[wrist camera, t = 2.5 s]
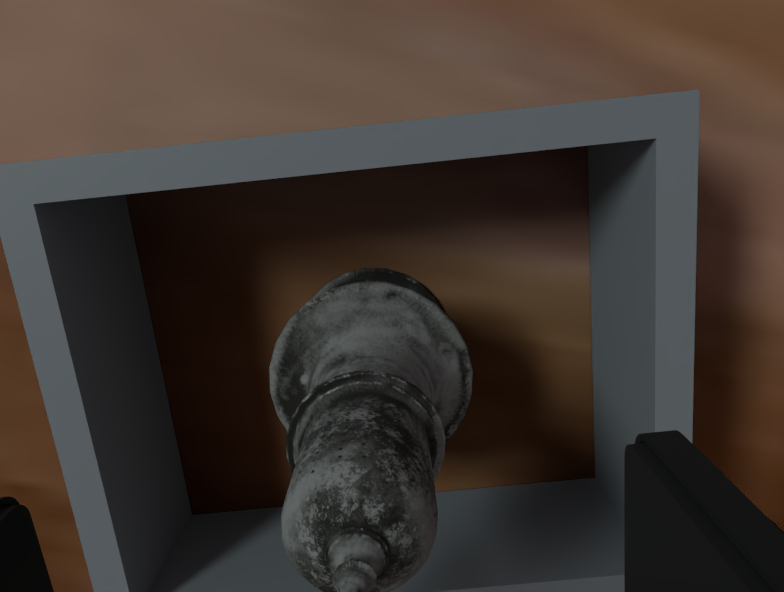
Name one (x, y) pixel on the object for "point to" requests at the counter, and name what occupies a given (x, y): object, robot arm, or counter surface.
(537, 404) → the counter surface
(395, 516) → the stone chess piece
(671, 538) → the robot arm
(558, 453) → the counter surface
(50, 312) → the crate
